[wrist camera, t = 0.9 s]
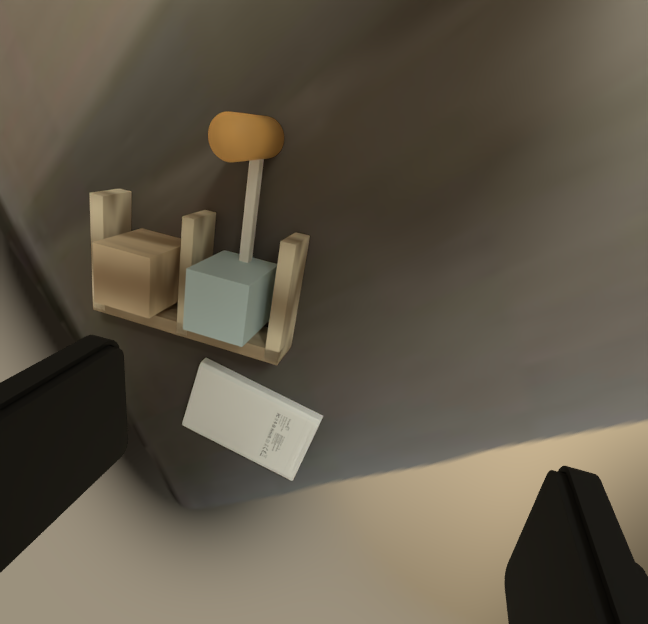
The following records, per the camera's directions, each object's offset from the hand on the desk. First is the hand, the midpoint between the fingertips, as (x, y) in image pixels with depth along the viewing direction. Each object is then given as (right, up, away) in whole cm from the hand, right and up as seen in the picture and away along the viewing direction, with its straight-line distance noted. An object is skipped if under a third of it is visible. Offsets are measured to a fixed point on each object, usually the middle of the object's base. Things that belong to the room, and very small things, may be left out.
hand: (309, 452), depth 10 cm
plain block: (-14, +7, +30) cm, 34 cm away
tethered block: (-5, +10, +27) cm, 29 cm away
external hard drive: (-7, -7, +35) cm, 36 cm away
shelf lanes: (-10, +7, +29) cm, 32 cm away
